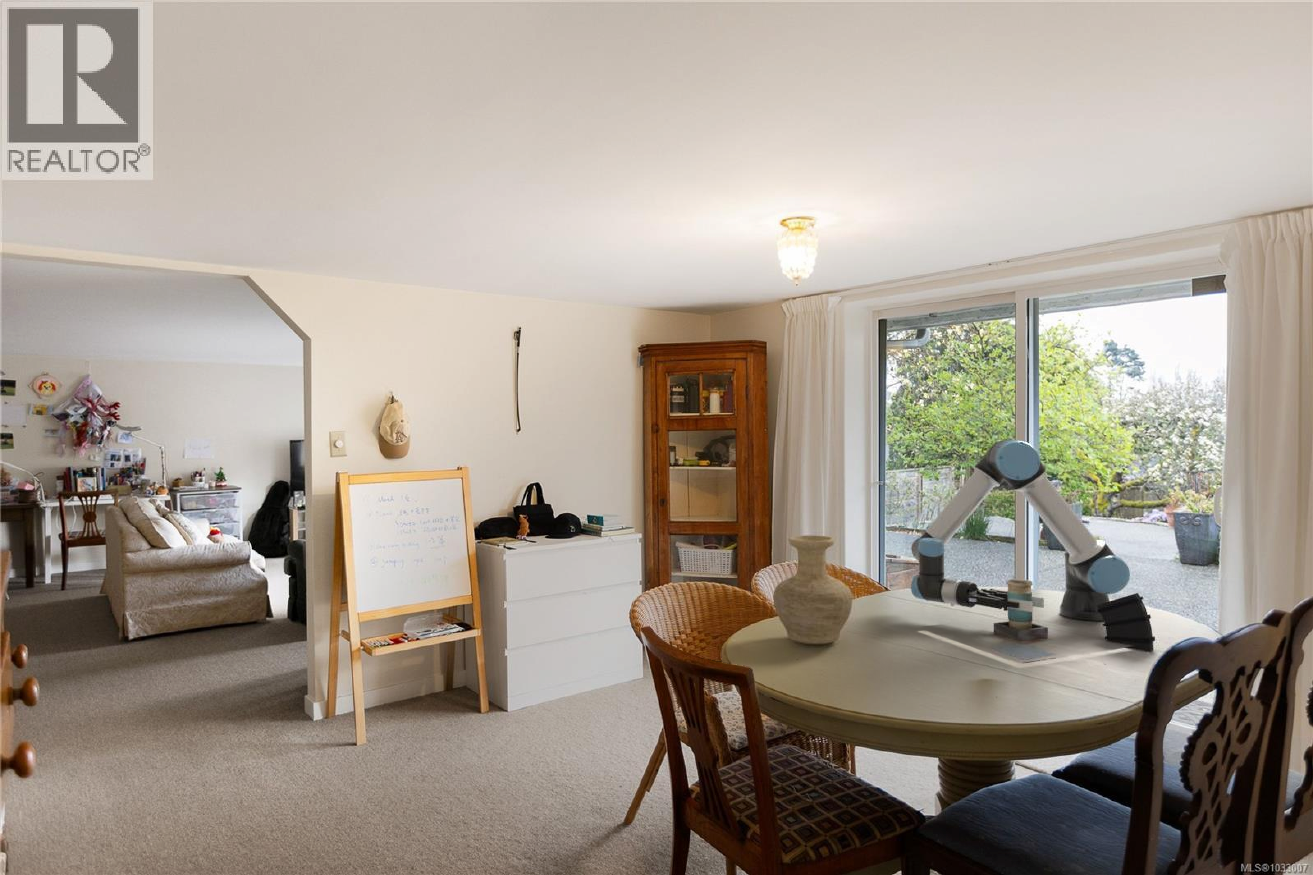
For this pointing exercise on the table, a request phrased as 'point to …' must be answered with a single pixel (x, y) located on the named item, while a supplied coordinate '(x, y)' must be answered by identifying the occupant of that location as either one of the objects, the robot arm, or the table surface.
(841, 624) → the vase
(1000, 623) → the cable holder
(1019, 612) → the disc
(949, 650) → the table surface
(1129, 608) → the magazine
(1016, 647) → the rubber mat
